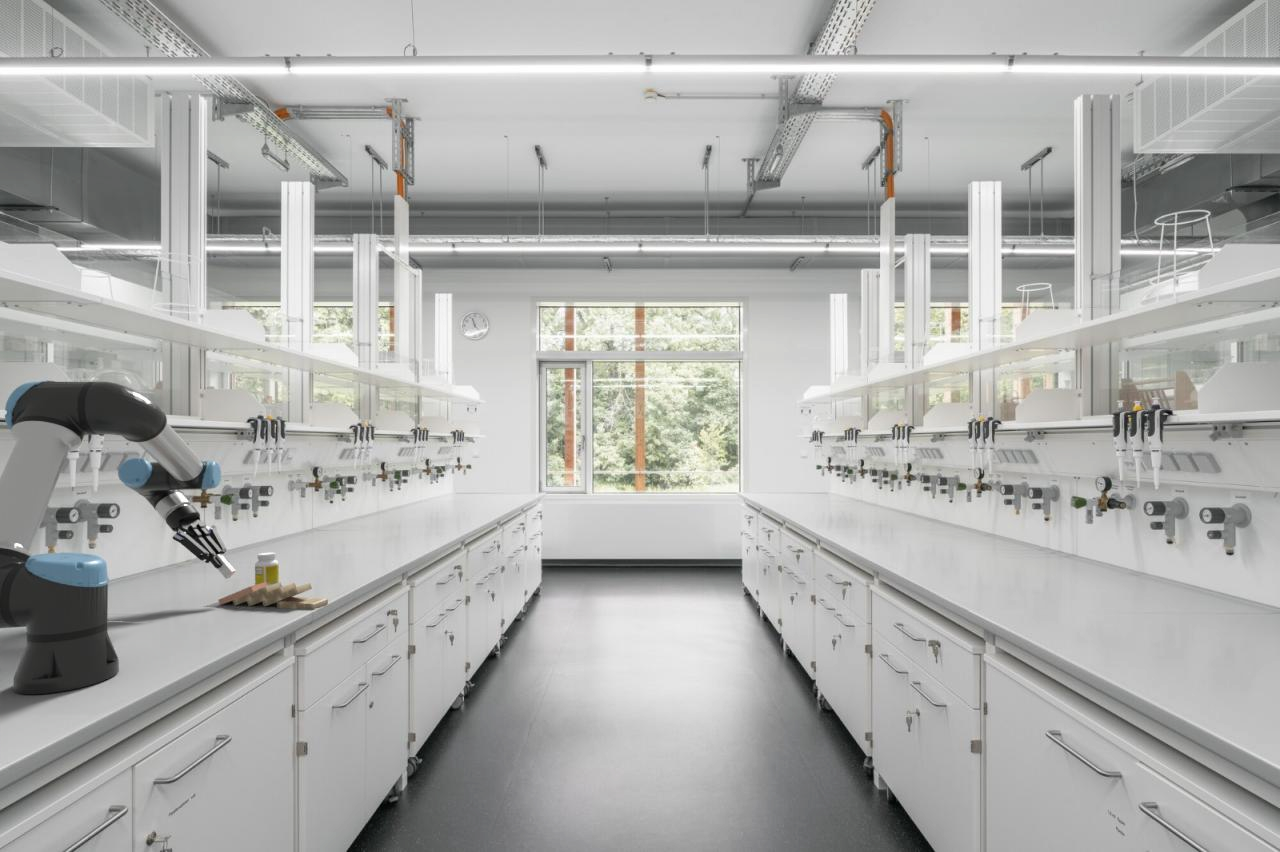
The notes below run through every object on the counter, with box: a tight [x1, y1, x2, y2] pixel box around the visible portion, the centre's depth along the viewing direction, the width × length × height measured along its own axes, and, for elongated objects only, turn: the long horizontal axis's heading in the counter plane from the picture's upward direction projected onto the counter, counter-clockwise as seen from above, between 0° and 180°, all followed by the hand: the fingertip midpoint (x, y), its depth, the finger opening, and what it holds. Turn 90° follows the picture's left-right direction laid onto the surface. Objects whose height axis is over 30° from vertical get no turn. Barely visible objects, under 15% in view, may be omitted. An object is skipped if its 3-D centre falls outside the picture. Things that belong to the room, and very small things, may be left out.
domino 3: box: [247, 582, 297, 606], centre depth 185 cm, size 2×6×11 cm
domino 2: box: [233, 581, 283, 606], centre depth 186 cm, size 2×6×11 cm
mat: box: [203, 601, 280, 611], centre depth 186 cm, size 22×9×1 cm, turn 79°
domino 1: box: [217, 582, 268, 605], centre depth 187 cm, size 2×6×11 cm
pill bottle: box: [254, 552, 280, 586], centre depth 204 cm, size 6×6×11 cm
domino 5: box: [277, 596, 329, 610], centre depth 183 cm, size 2×6×11 cm
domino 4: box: [262, 582, 313, 607], centre depth 184 cm, size 2×6×11 cm
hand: (230, 574), depth 187 cm, fingers closed
